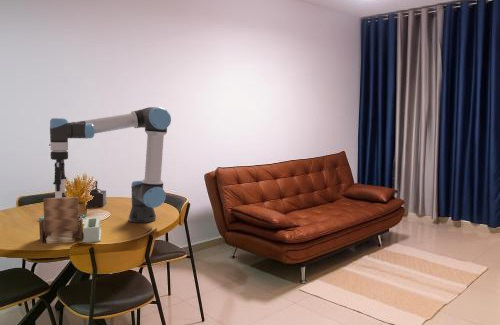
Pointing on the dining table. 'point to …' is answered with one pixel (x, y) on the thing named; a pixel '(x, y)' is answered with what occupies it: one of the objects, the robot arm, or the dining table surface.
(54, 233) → the offcut stack
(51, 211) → the sheet
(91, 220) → the holder
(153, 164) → the robot arm
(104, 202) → the black bag
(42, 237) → the rack
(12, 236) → the dining table surface
